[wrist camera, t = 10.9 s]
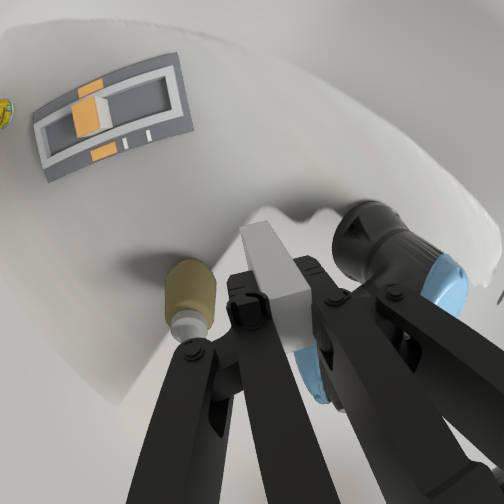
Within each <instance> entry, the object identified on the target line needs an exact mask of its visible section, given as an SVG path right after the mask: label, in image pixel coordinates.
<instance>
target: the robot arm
mask: <svg viewBox="0 0 504 504" xmlns="http://www.w3.org/2000/svg"><path fill="white" fill-rule="evenodd" d="M240 232H241V236H242V241H243V246H244V250H245V255H246V259H247V264H248V268H249V271H246V272H242V273H238V274H233V275H230V277H229V279H228V281H227V289H228V295H229V301H228V302H227V306H226V309H227V313H228V316H229V319H230V322H231V325H232V326H231V328H230V330H229V331H228V332H227V333H226V334H225V335H224V336H222V337H221V338H219V339H217V340H215V341H212V342H211V341H209V340H207V339H206V338H200V337H197V338H191V339H188V340H186V341H184V342H182V343H181V344H180V345H179V346H178V347H177V349H176V350H175V352H174V354H173V357H172V359H171V363H170V365H169V368H168V371H167V374H166V377H165V379H164V382H163V385H162V388H161V391H160V394H159V397H158V400H157V403H156V406H155V409H154V412H153V415H152V418H151V421H150V424H149V427H148V430H147V433H146V437H145V439H144V443H143V446H142V449H141V452H140V456H139V459H138V463H137V466H136V469H135V473H134V476H133V479H132V483H131V486H130V490H129V493H128V497H127V501H126V504H219V501H220V493H221V486H222V479H223V472H224V465H225V457H226V451H227V443H228V436H229V429H230V422H231V415H232V407H233V399H234V395H235V394H237V393H239V392H241V391H243V390H244V395H245V400H246V406H247V410H248V416H249V420H250V425H251V430H252V435H253V440H254V444H255V449H256V454H257V458H258V462H259V467H260V471H261V476H262V480H263V484H264V489H265V493H266V497H267V501H268V504H341V503H340V500H339V498H338V495H337V492H336V489H335V487H334V484H333V481H332V479H331V476H330V473H329V471H328V468H327V465H326V463H325V460H324V457H323V454H322V452H321V449H320V447H319V444H318V441H317V438H316V436H315V433H314V430H313V428H312V425H311V422H310V419H309V417H308V414H307V411H306V408H305V406H304V403H303V400H302V398H301V395H300V392H299V389H298V387H297V384H296V381H295V378H294V376H293V373H292V370H291V367H290V365H289V362H288V360H287V357H286V354H287V353H291V352H294V356H295V359H296V363H297V366H298V369H299V372H300V374H301V377H302V379H303V381H304V383H305V385H306V387H307V389H308V391H309V392H310V393H311V395H313V397H314V399H315V400H316V401H317V402H318V403H320V404H329V403H330V402H332V403H333V405H334V406H335V408H336V409H337V411H338V412H342V413H346V414H347V416H348V418H349V420H350V423H351V425H352V427H353V429H354V431H355V434H356V436H357V438H358V440H359V442H360V445H361V447H362V449H363V451H364V453H365V456H366V458H367V460H368V462H369V465H370V467H371V469H372V471H373V474H374V476H375V478H376V480H377V483H378V485H379V487H380V489H381V492H382V494H383V496H384V499H385V501H386V503H387V504H504V351H503V350H502V349H500V348H499V347H497V346H496V345H495V344H493V343H492V342H490V341H489V340H487V339H486V338H485V337H483V336H482V335H480V334H479V333H478V332H476V331H475V330H473V329H471V328H470V327H469V326H467V325H466V324H464V323H463V322H461V321H460V320H458V318H459V316H460V314H461V312H462V309H463V307H464V304H465V302H466V298H467V293H468V277H467V274H466V272H465V270H464V269H463V268H462V267H461V266H460V265H459V264H458V263H457V262H456V261H454V260H453V259H452V258H451V256H450V255H448V254H445V253H444V252H442V251H441V250H439V249H438V248H436V247H435V246H433V245H432V244H430V243H429V242H427V241H425V240H424V239H422V238H421V237H419V236H418V235H416V234H414V233H413V232H411V231H410V230H409V229H408V227H407V226H406V225H405V224H404V223H403V221H402V219H401V217H400V216H399V214H398V213H397V212H396V211H395V210H393V209H392V208H390V207H389V206H387V205H385V204H383V203H380V202H366V203H363V204H360V205H358V206H356V207H355V208H353V209H352V210H351V211H349V212H348V213H347V214H346V215H345V217H344V218H343V219H342V221H341V222H340V224H339V225H338V227H337V229H336V231H335V234H334V237H333V242H332V254H333V259H334V261H335V264H336V265H337V267H338V268H339V269H340V270H341V272H342V273H343V274H344V275H345V276H347V277H348V278H349V279H351V280H354V281H357V282H360V283H361V284H362V285H361V286H359V287H358V288H357V289H355V290H354V291H353V292H350V291H348V290H346V289H343V288H338V286H337V285H336V284H335V282H334V281H333V280H332V279H331V277H330V276H329V275H328V273H327V272H325V270H324V268H323V267H321V265H320V263H319V262H318V261H317V260H316V259H315V258H313V257H310V256H308V255H307V256H303V257H299V258H295V259H292V258H291V256H290V255H289V253H288V252H287V250H286V249H285V247H284V246H283V244H282V243H281V241H280V239H279V238H278V236H277V235H276V233H275V232H274V230H273V229H272V227H271V226H270V224H269V223H268V221H263V222H259V223H255V224H250V225H246V226H241V227H240ZM442 416H443V417H444V418H445V419H446V420H447V421H448V422H449V423H450V424H451V425H452V426H453V427H455V428H456V429H457V430H458V431H459V432H460V433H461V434H462V435H463V436H464V437H465V438H467V439H468V440H469V441H470V442H471V443H472V444H473V445H474V446H475V447H476V448H477V449H479V450H480V451H481V452H482V453H483V454H484V455H485V456H486V457H487V458H488V459H489V460H490V461H492V462H493V463H494V464H495V465H496V466H497V467H496V468H494V469H493V470H490V468H489V467H488V466H487V465H485V464H483V463H481V462H475V461H471V460H470V459H468V457H467V456H466V455H465V453H464V451H463V450H462V448H461V446H460V445H459V443H458V441H457V440H456V438H455V436H454V435H453V433H452V432H451V430H450V429H449V427H448V425H447V424H446V422H445V421H444V419H443V417H442Z"/></svg>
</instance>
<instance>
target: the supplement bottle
mask: <svg viewBox="0 0 504 504" xmlns="http://www.w3.org/2000/svg"><path fill="white" fill-rule="evenodd" d="M13 113H14V106H13V103H12V101H10V100H8V99H0V129H4V128H5V127H7V126H8V125H9V123H10V122H11V120H12V117H13Z"/></svg>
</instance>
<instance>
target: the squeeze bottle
mask: <svg viewBox="0 0 504 504" xmlns="http://www.w3.org/2000/svg"><path fill="white" fill-rule="evenodd" d="M215 298H216V279H215V277H214V275H213V273H212V272H211V271H210V269H209V268H208V267H207V266H206V265H205V264H204V263H203V262H202V261H199V260H197V259H185V260H183V261H181V262H180V263H178V264H177V265H176V266H175V267H174V268H173V269H172V270H171V271H170V272H169V273H168V275H167V278H166V280H165V318H166V323H167V324H168V326H169V327H170V329H171V334H172V336H173V337H174V339H176V340H177V341H179V342H180V343H182V342H184V341H186V340H188V339H191V338H197V337H200V338H206V336H207V330H209V329H210V328H211V326H212V324H213V322H214V311H215Z"/></svg>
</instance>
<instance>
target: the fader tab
mask: <svg viewBox="0 0 504 504" xmlns="http://www.w3.org/2000/svg"><path fill="white" fill-rule="evenodd" d="M71 108H72V114H73V119H74V124H75V128H76V133H77V138H79V137H87V136H94V135H96V134H99V133H101V132H104V131H106V130H109V129H111V128H113V125H112V120H111V115H110V111H109V106H108V100H107V99H103V98H99V97H95V96H91V97H89V98H87V99H85V100H83V101H81V102H78V103H76V104H74V105H72V106H71Z"/></svg>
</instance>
